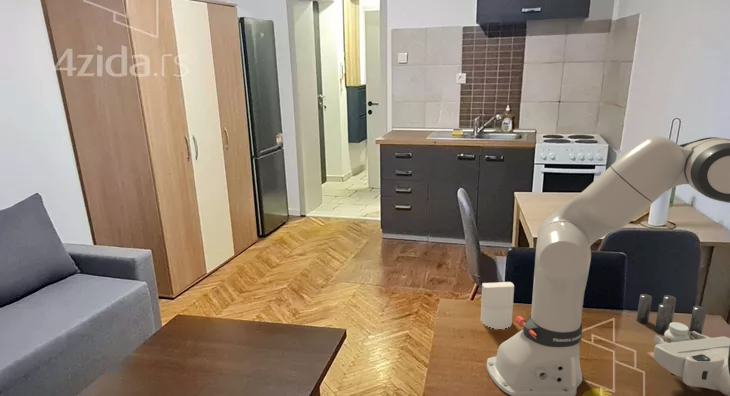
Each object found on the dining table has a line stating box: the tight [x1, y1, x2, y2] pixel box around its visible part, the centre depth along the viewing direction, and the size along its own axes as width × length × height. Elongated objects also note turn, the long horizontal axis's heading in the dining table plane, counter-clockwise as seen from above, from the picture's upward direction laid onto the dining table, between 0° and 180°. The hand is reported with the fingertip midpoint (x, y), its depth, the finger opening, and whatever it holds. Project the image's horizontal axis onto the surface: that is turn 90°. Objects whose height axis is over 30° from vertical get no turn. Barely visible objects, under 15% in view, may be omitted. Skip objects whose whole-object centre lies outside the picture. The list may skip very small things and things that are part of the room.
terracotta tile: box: [646, 351, 672, 374], centre depth 115 cm, size 8×8×1 cm
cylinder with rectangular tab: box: [480, 281, 515, 330], centre depth 135 cm, size 9×9×12 cm
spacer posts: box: [636, 293, 707, 335], centre depth 130 cm, size 12×12×8 cm
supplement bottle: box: [663, 321, 691, 343], centre depth 114 cm, size 5×5×10 cm
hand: (673, 335), depth 115 cm, fingers open, 8 cm apart
